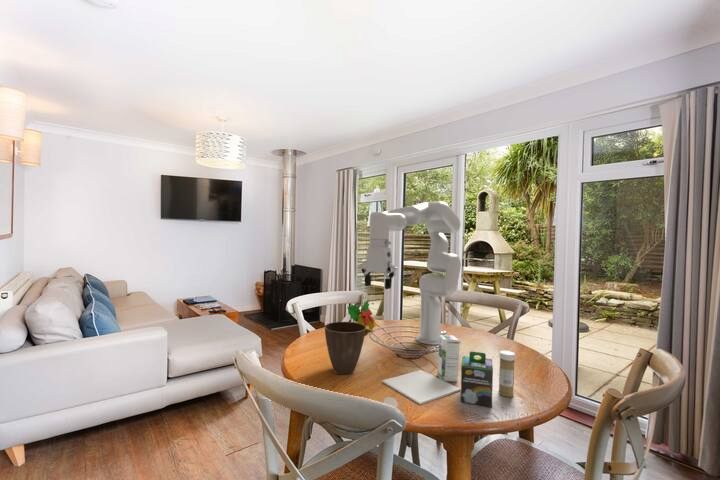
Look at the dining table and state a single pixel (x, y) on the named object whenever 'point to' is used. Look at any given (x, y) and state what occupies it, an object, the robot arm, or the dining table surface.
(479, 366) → the chalk box
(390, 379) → the mat
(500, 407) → the dining table surface
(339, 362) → the plant pot
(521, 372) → the dining table surface
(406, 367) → the dining table surface
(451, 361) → the syrup box
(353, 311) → the ornament
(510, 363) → the sprinkles bottle
